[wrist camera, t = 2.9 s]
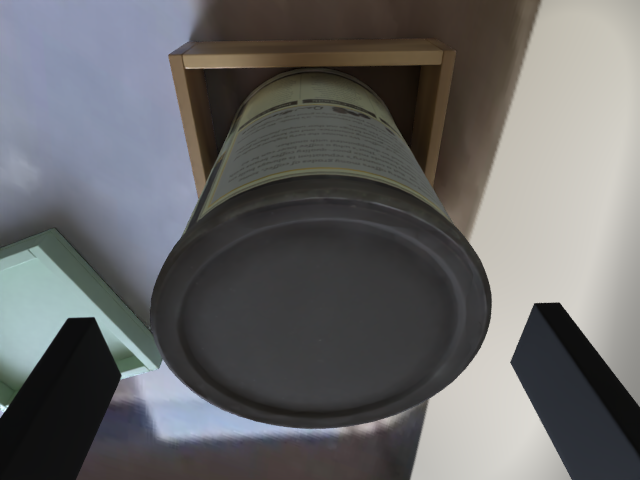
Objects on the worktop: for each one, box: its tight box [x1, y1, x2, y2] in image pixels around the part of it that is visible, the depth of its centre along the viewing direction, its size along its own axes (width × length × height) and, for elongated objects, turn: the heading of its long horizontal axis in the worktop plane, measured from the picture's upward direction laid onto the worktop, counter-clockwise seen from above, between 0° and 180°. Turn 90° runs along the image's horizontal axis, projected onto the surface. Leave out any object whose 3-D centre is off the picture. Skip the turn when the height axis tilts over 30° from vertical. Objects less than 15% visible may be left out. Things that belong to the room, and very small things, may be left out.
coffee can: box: [150, 67, 492, 429], centre depth 18 cm, size 10×10×14 cm
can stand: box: [168, 38, 456, 199], centre depth 22 cm, size 13×13×4 cm
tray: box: [0, 228, 162, 412], centre depth 30 cm, size 16×13×2 cm
